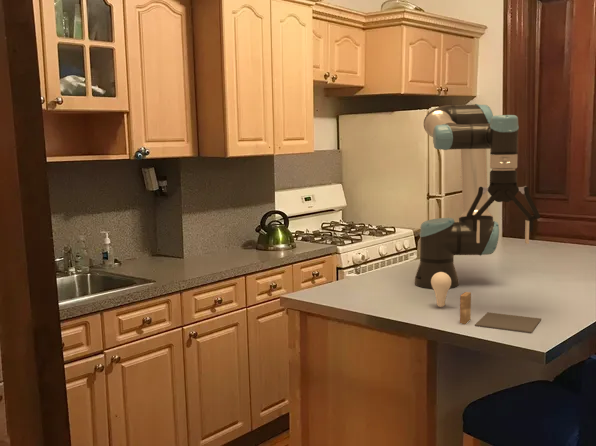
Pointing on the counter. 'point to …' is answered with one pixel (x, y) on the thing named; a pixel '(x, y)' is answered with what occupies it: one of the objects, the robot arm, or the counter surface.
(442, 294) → the lightbulb
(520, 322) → the mat
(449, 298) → the counter surface
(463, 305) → the wooden block
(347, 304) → the counter surface
